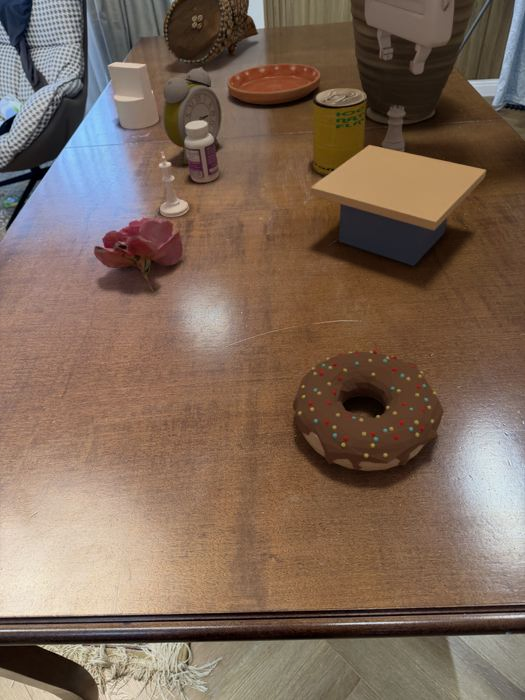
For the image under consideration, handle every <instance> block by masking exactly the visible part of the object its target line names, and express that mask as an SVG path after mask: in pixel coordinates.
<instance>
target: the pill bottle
mask: <svg viewBox="0 0 525 700" xmlns="http://www.w3.org/2000/svg"><path fill="white" fill-rule="evenodd" d="M185 129H186V134H187V135H188V136H187V137H186V138H185V141H184V144H185V149H186V155H187V160H188V164H187V165H188V169H189V175H190V178H191V180H192V181H194V182H196V183H201V184H203V183H210V182H213V181H215V180H216V179H218V178H219V175H220V171H219V170H220V169H219V161H218V155H217V149H216V148H217V147H216V146H215V142H214V138H213V136H212V135H211V134H210V133H208V132H209V128H208V123H207V122H206V121H201V120H199V121H192V122H189V123H187V124H186V125H185Z"/></svg>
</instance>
